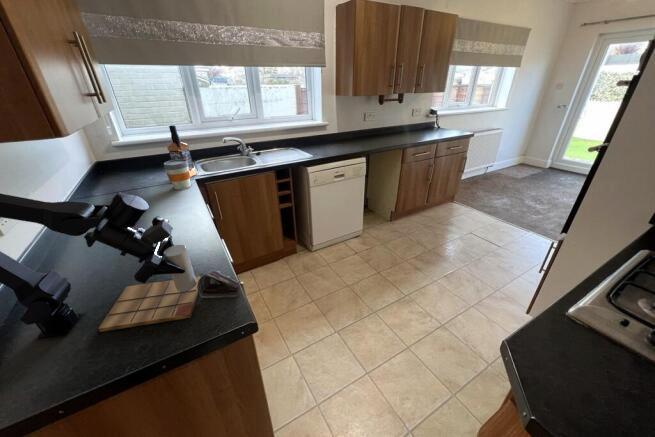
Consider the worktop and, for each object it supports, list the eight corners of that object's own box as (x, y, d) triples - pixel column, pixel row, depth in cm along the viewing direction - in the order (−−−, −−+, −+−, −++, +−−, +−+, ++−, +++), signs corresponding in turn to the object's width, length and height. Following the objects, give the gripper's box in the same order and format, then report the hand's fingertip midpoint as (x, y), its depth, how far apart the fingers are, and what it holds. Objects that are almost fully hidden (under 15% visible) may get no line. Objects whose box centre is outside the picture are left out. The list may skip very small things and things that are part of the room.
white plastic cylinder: (171, 290, 75) (158, 255, 69) (184, 277, 80) (172, 243, 74) (189, 292, 74) (177, 257, 68) (200, 279, 79) (190, 245, 73)
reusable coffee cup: (168, 186, 161) (160, 162, 154) (189, 181, 169) (183, 157, 162) (174, 192, 153) (166, 166, 146) (196, 186, 160) (190, 161, 153)
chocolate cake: (248, 281, 85) (218, 256, 83) (241, 291, 78) (209, 264, 76) (228, 301, 86) (199, 277, 85) (220, 313, 79) (188, 287, 78)
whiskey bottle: (174, 177, 176) (159, 126, 161) (184, 172, 184) (170, 124, 169) (188, 178, 174) (173, 127, 159) (197, 173, 182) (185, 124, 167)
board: (99, 332, 69) (97, 328, 68) (127, 289, 83) (126, 286, 82) (190, 317, 72) (189, 314, 72) (203, 278, 86) (202, 275, 86)
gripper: (132, 233, 57) (200, 264, 65) (152, 199, 73) (205, 228, 81) (103, 270, 58) (174, 296, 67) (129, 230, 74) (183, 255, 82)
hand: (185, 265), depth 74 cm, fingers closed on white plastic cylinder, 5 cm apart
